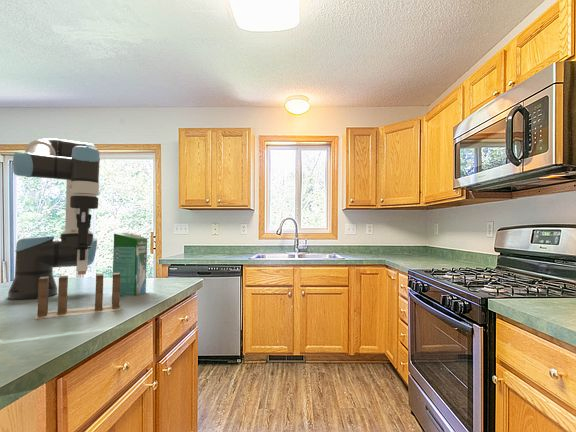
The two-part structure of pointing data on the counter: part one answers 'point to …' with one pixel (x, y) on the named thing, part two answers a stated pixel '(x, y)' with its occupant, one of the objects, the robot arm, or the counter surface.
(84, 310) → the birch board
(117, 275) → the domino
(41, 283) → the domino
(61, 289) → the domino
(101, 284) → the domino
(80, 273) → the rust tile
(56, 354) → the counter surface
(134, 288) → the milk carton
